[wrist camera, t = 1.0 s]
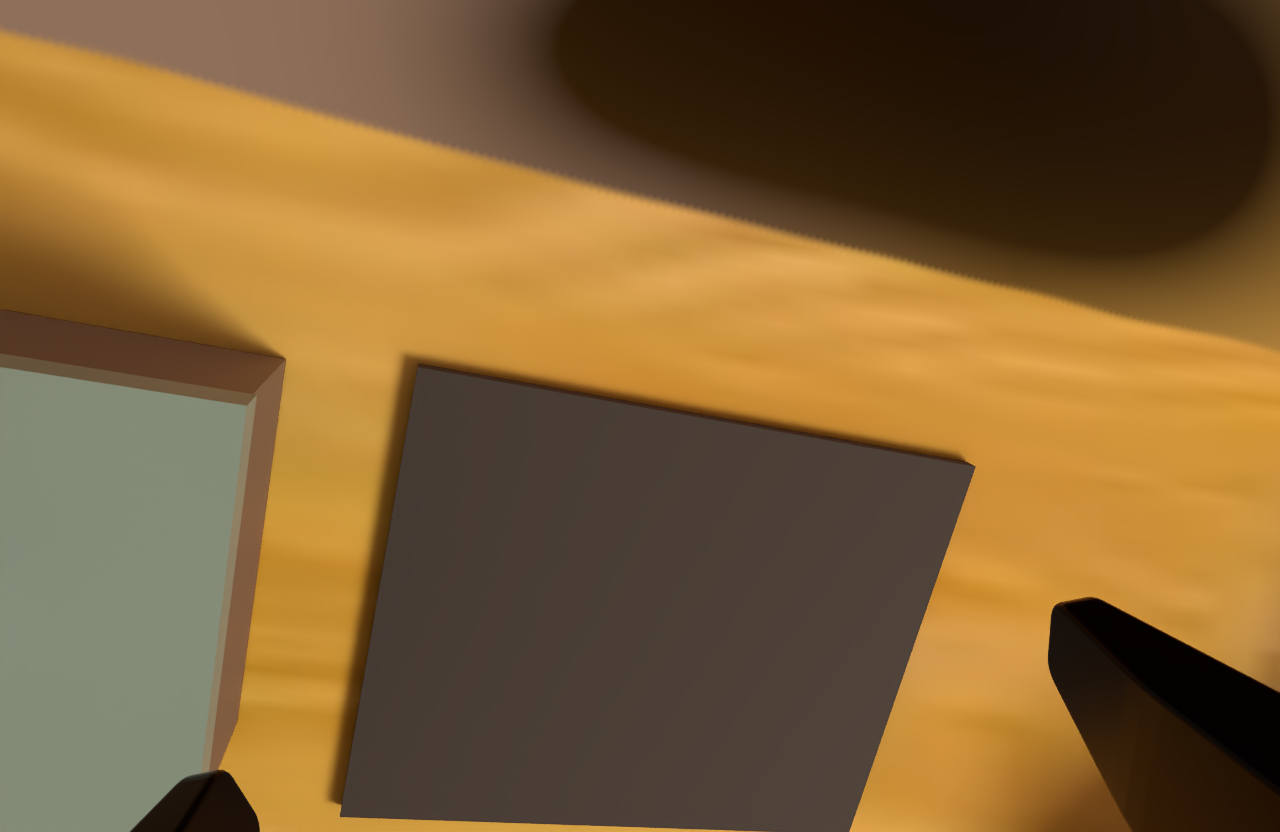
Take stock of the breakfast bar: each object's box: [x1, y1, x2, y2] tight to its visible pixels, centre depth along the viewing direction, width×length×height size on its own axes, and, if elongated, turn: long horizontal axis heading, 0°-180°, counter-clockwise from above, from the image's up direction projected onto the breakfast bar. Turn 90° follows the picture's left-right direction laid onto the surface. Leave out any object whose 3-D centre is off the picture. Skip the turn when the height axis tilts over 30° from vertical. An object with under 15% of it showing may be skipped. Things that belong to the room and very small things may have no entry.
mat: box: [340, 364, 975, 832], centre depth 23 cm, size 16×13×1 cm
